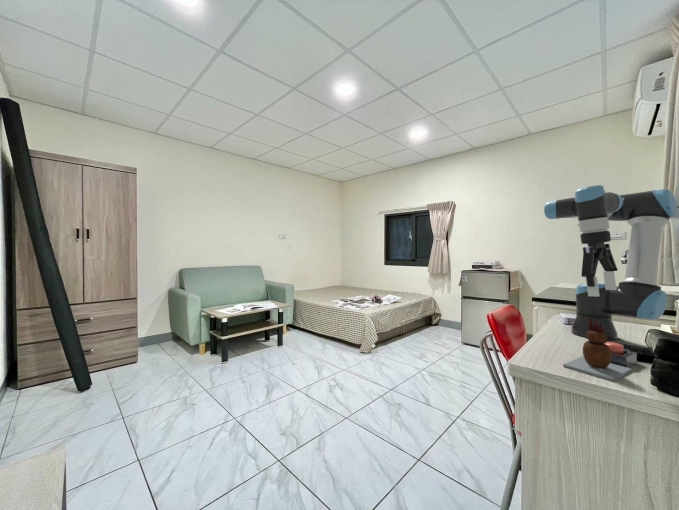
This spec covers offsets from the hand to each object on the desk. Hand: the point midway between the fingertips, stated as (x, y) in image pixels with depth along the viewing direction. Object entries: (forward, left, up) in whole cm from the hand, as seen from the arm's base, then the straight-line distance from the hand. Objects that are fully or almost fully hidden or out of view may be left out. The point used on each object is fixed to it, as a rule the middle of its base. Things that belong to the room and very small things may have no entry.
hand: (602, 293), depth 94 cm
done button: (-2, +2, -20) cm, 21 cm away
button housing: (-2, +2, -23) cm, 23 cm away
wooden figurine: (+11, +2, -22) cm, 25 cm away
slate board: (+11, +2, -23) cm, 26 cm away
